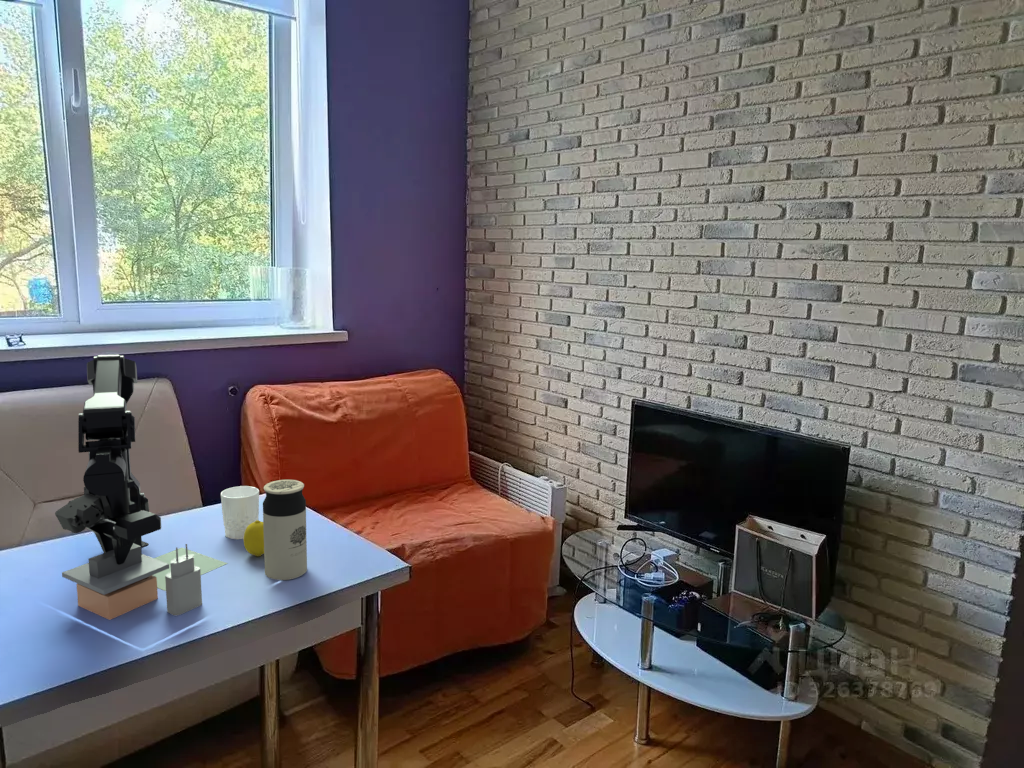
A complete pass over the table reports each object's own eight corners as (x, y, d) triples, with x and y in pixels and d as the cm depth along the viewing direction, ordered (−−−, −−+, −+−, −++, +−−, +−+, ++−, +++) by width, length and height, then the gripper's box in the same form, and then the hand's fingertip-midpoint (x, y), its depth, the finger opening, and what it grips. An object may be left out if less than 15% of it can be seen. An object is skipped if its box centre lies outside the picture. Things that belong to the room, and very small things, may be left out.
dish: (78, 607, 126) (76, 583, 126) (126, 587, 134) (125, 565, 133) (109, 621, 122) (107, 597, 121) (157, 600, 130) (156, 577, 129)
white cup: (252, 542, 156) (251, 498, 154) (216, 541, 156) (214, 497, 154) (265, 528, 164) (264, 486, 162) (230, 527, 164) (229, 485, 162)
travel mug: (257, 571, 142) (254, 484, 139) (293, 560, 148) (291, 476, 145) (278, 585, 137) (275, 495, 134) (314, 572, 143) (313, 486, 140)
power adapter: (204, 605, 129) (201, 542, 126) (176, 618, 124) (172, 553, 122) (193, 601, 130) (189, 538, 128) (165, 613, 126) (161, 548, 123)
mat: (118, 574, 139) (118, 572, 139) (182, 549, 152) (182, 547, 151) (165, 592, 133) (164, 590, 133) (227, 565, 145) (227, 563, 145)
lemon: (263, 564, 146) (262, 526, 144) (238, 560, 147) (237, 523, 146) (277, 553, 151) (276, 517, 150) (253, 550, 152) (252, 514, 151)
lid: (62, 576, 125) (60, 556, 124) (127, 552, 135) (126, 533, 134) (104, 594, 119) (102, 573, 118) (169, 568, 130) (168, 548, 129)
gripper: (29, 479, 121) (37, 565, 124) (96, 501, 112) (103, 594, 115) (94, 463, 131) (100, 543, 134) (160, 482, 122) (165, 568, 125)
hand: (115, 561), depth 127 cm, fingers closed on lid, 2 cm apart
